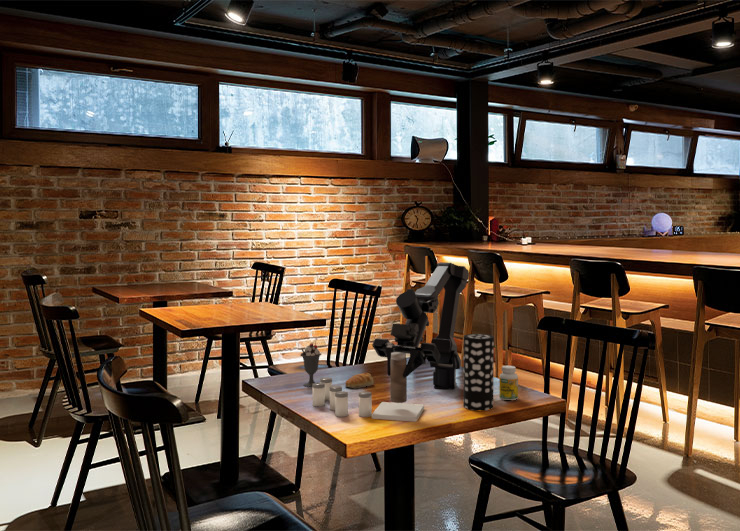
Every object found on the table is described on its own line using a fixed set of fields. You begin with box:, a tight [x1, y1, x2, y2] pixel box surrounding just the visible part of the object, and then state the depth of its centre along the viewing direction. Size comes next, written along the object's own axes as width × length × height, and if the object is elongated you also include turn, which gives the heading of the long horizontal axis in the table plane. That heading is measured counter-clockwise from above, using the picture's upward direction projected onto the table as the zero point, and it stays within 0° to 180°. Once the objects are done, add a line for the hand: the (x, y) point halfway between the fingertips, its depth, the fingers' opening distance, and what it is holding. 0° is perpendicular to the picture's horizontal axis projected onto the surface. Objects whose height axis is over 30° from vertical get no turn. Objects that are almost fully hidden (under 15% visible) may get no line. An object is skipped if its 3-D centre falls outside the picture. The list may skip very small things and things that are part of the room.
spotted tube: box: [462, 333, 495, 411], centre depth 183 cm, size 8×8×20 cm
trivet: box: [371, 401, 425, 422], centre depth 177 cm, size 12×12×1 cm
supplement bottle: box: [498, 365, 519, 401], centre depth 191 cm, size 5×5×10 cm
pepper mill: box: [389, 352, 408, 403], centre depth 176 cm, size 4×4×13 cm
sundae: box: [300, 337, 322, 388], centre depth 208 cm, size 7×7×15 cm
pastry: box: [344, 372, 375, 389], centre depth 207 cm, size 9×7×4 cm
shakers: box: [311, 377, 373, 418], centre depth 182 cm, size 8×24×6 cm, turn 35°
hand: (396, 376), depth 175 cm, fingers closed on pepper mill, 4 cm apart
